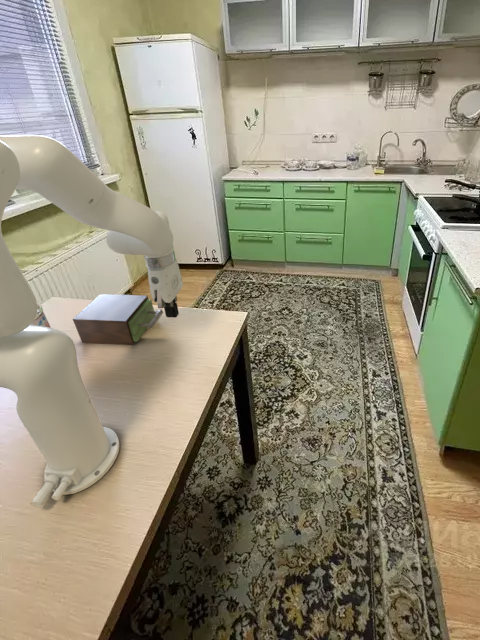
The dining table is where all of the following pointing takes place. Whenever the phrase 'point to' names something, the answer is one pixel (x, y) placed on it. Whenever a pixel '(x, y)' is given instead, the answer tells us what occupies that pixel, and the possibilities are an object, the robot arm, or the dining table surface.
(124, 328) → the cabinet
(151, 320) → the drawer
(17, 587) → the dining table surface
